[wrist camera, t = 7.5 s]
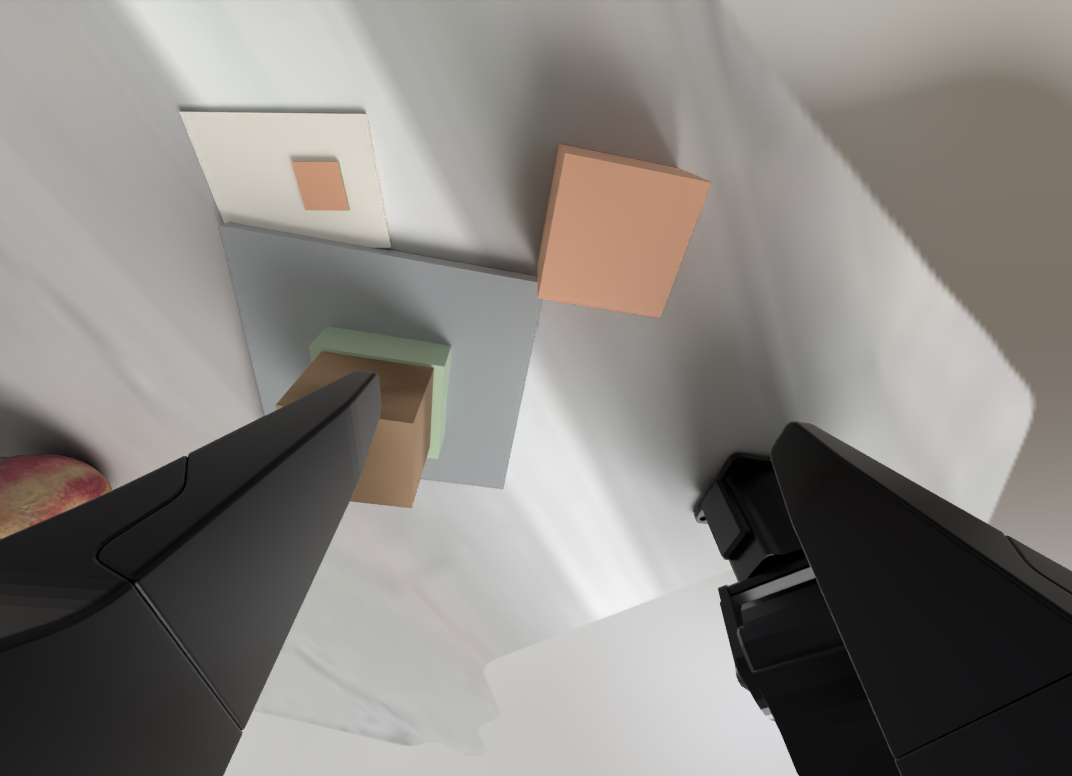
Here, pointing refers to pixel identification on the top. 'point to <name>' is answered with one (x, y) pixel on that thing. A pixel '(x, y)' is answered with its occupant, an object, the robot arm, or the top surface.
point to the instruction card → (293, 173)
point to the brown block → (383, 423)
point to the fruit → (44, 488)
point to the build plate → (393, 332)
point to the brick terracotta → (616, 231)
